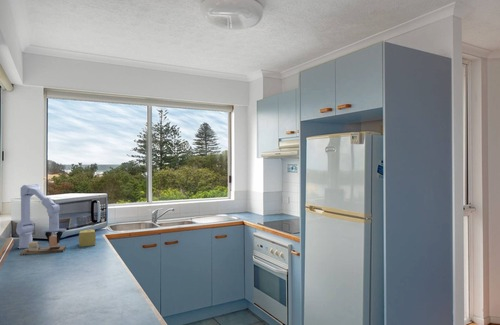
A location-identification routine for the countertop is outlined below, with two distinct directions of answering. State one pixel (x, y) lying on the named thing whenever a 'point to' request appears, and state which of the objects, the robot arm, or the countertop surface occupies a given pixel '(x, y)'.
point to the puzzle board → (44, 250)
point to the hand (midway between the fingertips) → (54, 243)
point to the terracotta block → (53, 241)
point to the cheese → (87, 237)
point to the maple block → (33, 246)
